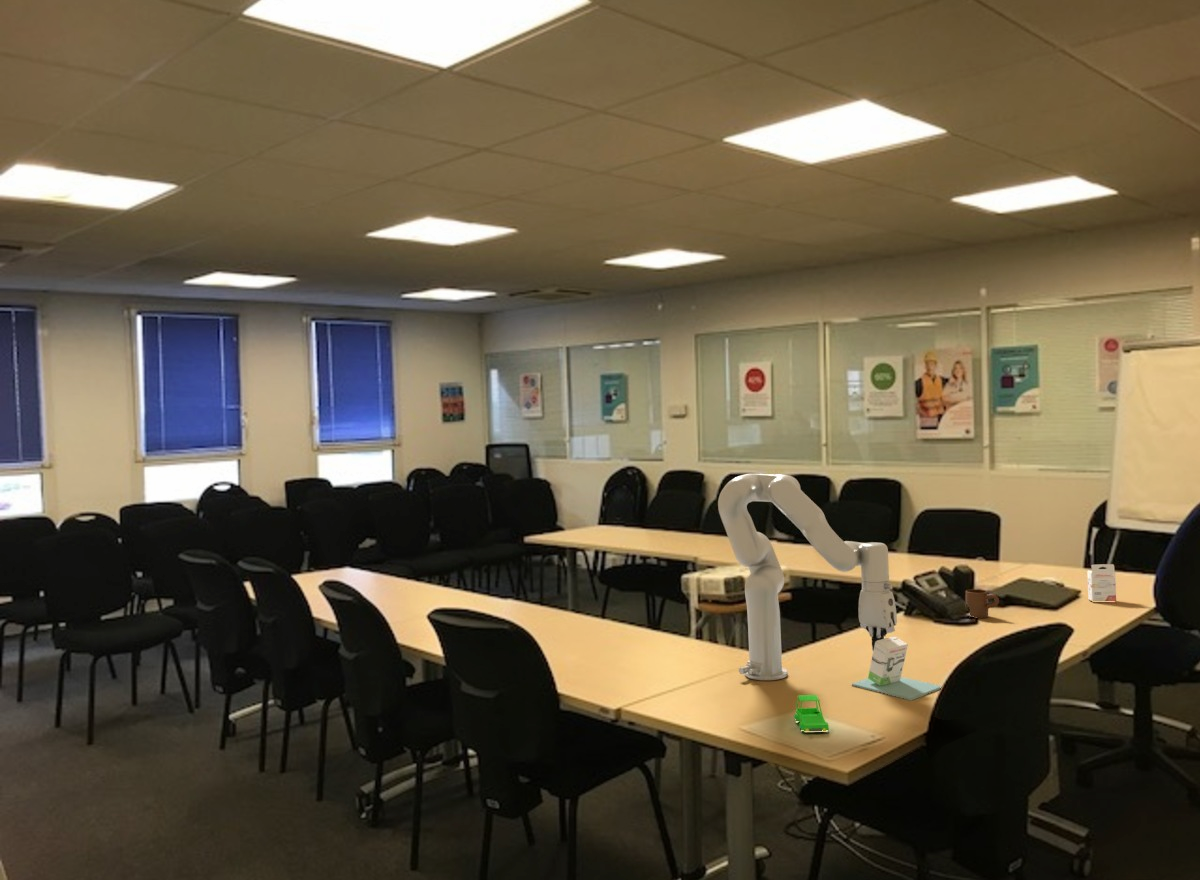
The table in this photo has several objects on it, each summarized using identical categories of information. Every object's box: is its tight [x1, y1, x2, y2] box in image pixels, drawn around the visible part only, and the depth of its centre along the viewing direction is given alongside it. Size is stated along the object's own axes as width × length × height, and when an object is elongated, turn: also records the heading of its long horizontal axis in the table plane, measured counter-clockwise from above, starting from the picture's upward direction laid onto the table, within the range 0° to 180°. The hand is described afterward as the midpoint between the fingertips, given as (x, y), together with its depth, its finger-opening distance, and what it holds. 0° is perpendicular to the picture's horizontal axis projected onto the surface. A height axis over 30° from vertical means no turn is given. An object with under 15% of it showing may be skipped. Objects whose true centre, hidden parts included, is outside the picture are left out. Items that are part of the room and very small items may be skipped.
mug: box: [965, 588, 1000, 619], centre depth 335 cm, size 12×8×9 cm, turn 40°
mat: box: [851, 676, 942, 701], centre depth 258 cm, size 15×19×1 cm
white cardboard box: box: [867, 636, 909, 686], centre depth 260 cm, size 9×5×12 cm, turn 122°
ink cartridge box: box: [1086, 563, 1117, 602], centre depth 352 cm, size 9×5×15 cm, turn 80°
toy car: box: [793, 694, 830, 732], centre depth 229 cm, size 11×7×7 cm, turn 178°
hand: (878, 650), depth 263 cm, fingers closed
